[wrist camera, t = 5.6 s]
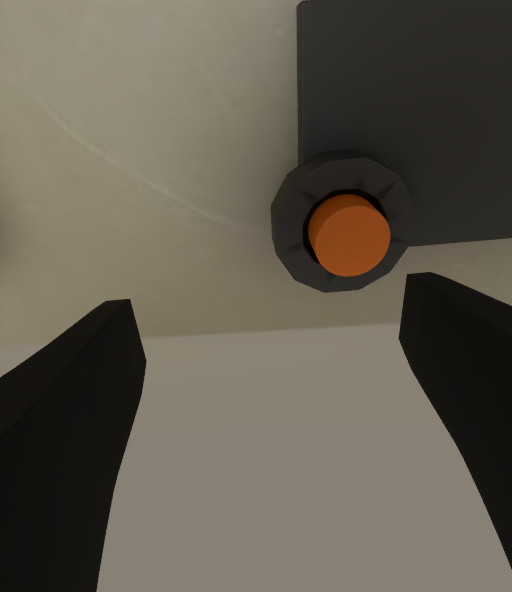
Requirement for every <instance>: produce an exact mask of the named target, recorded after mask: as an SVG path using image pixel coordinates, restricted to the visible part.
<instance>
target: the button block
mask: <svg viewBox="0 0 512 592" xmlns="http://www.w3.org/2000/svg"><path fill="white" fill-rule="evenodd" d="M297 86H298V167H297V168H295V169H294V170H292V171H291V172H289V174H287V175H286V177H285V179H284V181H283V183H282V185H281V187H280V189H279V191H278V193H277V195H276V197H275V199H274V201H273V202H272V204H271V224H272V239H273V243H274V247H275V251H276V254H277V256H278V257H279V259H280V260H281V262H282V263H283V264H284V266H285V267H286V269H287V270H288V271H289V273H290V274H291V276H292V277H293V279H295V280H296V281H298V282H300V283H303V284H305V285H307V286H310V287H312V288H314V289H317V290H319V291H322V292H326V293H327V292H339V291H351V290H358V289H359V290H360V289H361V288H363V287H365V286H367V285H368V284H370V283H372V282H374V281H375V280H377V279H379V278H381V277H382V276H384V275H386V274H388V273H389V272H390V271H391V270H392V268H393V267H394V266H395V264H396V263H397V261H398V260H399V259H400V257H401V256H402V254H403V253H404V252H405V250H406V249H407V247H408V246H421V245H433V244H445V243H457V242H469V241H481V240H493V239H505V238H512V0H310V1H302V2H300V3H299V4H298V5H297ZM339 194H355V195H358V196H361V197H363V198H364V199H366V200H367V201H368V202H369V203H370V204H372V205H373V206H374V207H375V208H376V209H377V210H378V211H379V212H380V213H381V214H382V215H383V217H384V218H385V219H386V221H387V223H388V225H389V229H390V243H389V247H388V250H387V252H386V254H385V256H384V257H383V259H382V260H381V261H380V262H379V263H378V264H377V265H376V266H375V267H374V268H372V269H371V270H369V271H367V272H365V273H363V274H360V275H356V276H339V275H336V274H333V273H331V272H329V271H328V270H326V269H325V268H324V267H323V266H322V265H321V264H320V262H319V260H318V259H317V256H316V254H315V252H314V250H313V248H312V245H311V243H310V240H309V236H308V226H309V222H310V219H311V217H312V215H313V213H314V211H315V210H316V209H317V208H318V206H319V205H320V204H322V203H323V202H324V201H325V200H327V199H329V198H331V197H333V196H336V195H339Z"/></svg>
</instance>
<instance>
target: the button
mask: <svg viewBox="0 0 512 592" xmlns="http://www.w3.org/2000/svg"><path fill="white" fill-rule="evenodd" d="M308 236H309V240H310V243H311V245H312V248H313V250H314V252H315V254H316V256H317V259H318V260H319V262H320V264H321V265H322V266H323V267H324V268H325V269H326V270H328V271H329V272H331V273H333V274H336V275H339V276H356V275H360V274H363V273H365V272H367V271H369V270H371V269H372V268H374V267H375V266H376V265H377V264H378V263H379V262H380V261H381V260H382V259H383V257H384V256H385V254H386V252H387V250H388V247H389V243H390V229H389V225H388V223H387V221H386V219H385V218H384V217H383V215H382V214H381V213H380V212H379V211H378V210H377V209H376V208H375V207H374V206H373V205H372V204H370V203H369V202H368V201H367V200H366V199H364V198H363V197H361V196H358V195H355V194H339V195H336V196H333V197H331V198H329V199H327V200H325V201H324V202H323V203H322V204H320V205H319V206H318V208H317V209H316V210H315V211H314V213H313V215H312V217H311V219H310V222H309V226H308Z"/></svg>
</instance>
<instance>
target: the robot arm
mask: <svg viewBox="0 0 512 592" xmlns="http://www.w3.org/2000/svg"><path fill="white" fill-rule="evenodd" d="M399 340H400V343H401V345H402V348H403V351H404V353H405V356H406V358H407V360H408V363H409V365H410V367H411V370H412V371H413V373H414V375H415V376H416V378H417V380H418V382H419V383H420V385H421V387H422V388H423V390H424V392H425V394H426V395H427V397H428V399H429V400H430V402H431V404H432V405H433V407H434V409H435V410H436V412H437V414H438V415H439V417H440V419H441V420H442V422H443V424H444V425H445V427H446V429H447V430H448V432H449V433H450V435H451V437H452V438H453V440H454V442H455V443H456V446H457V447H458V449H459V451H460V453H461V455H462V457H463V459H464V461H465V463H466V465H467V467H468V469H469V471H470V474H471V476H472V478H473V480H474V482H475V484H476V487H477V489H478V491H479V493H480V495H481V497H482V499H483V502H484V504H485V506H486V509H487V511H488V514H489V516H490V518H491V520H492V523H493V525H494V527H495V530H496V532H497V534H498V537H499V539H500V541H501V544H502V546H503V549H504V551H505V554H506V556H507V559H508V561H509V563H510V566H511V569H512V306H510V305H508V304H506V303H503V302H501V301H499V300H496V299H494V298H492V297H490V296H487V295H485V294H483V293H481V292H478V291H476V290H474V289H472V288H469V287H467V286H465V285H463V284H460V283H458V282H456V281H453V280H451V279H449V278H446V277H444V276H441V275H438V274H435V273H432V272H426V273H415V274H407V278H406V286H405V294H404V301H403V309H402V317H401V324H400V332H399ZM145 368H146V358H145V354H144V350H143V346H142V343H141V339H140V335H139V331H138V327H137V324H136V320H135V316H134V312H133V308H132V305H131V301H130V299H122V300H111V301H106V302H104V303H102V304H101V305H99V306H98V307H96V308H95V309H94V310H92V311H91V312H90V313H88V314H87V315H86V316H84V317H83V318H82V319H80V320H79V321H78V322H77V323H75V324H74V325H73V326H71V327H70V328H69V329H67V330H66V331H65V332H64V333H62V334H61V335H60V336H58V337H57V338H56V339H54V340H53V341H52V342H51V343H49V344H48V345H46V346H45V347H44V348H42V349H41V350H39V351H38V352H36V353H35V354H34V355H32V356H31V357H29V358H28V359H27V360H25V361H24V362H23V363H21V364H20V365H18V366H17V367H15V368H14V369H12V370H11V371H9V372H8V373H6V374H5V375H3V376H2V377H0V592H96V590H97V583H98V577H99V571H100V565H101V558H102V553H103V546H104V540H105V535H106V529H107V524H108V519H109V513H110V508H111V502H112V497H113V492H114V487H115V484H116V480H117V476H118V472H119V469H120V465H121V462H122V459H123V455H124V452H125V449H126V446H127V442H128V439H129V436H130V432H131V429H132V425H133V422H134V419H135V415H136V412H137V409H138V405H139V402H140V398H141V395H142V389H143V382H144V376H145Z"/></svg>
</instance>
